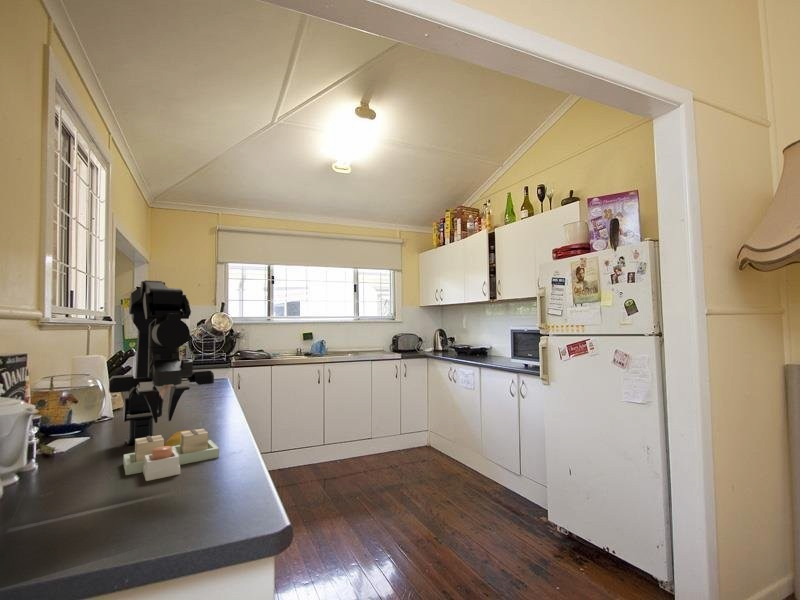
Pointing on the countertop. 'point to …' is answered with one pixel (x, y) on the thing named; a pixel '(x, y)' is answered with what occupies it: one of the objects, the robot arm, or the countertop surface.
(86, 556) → the countertop surface
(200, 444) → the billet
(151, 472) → the button housing
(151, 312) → the robot arm
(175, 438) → the bread roll
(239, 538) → the countertop surface
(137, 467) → the pale green divided tray
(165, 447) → the button
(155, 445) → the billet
